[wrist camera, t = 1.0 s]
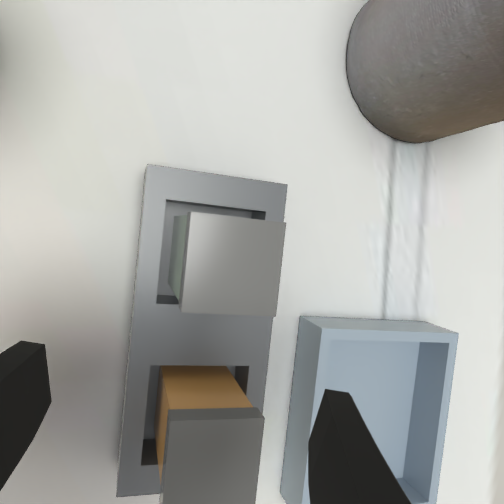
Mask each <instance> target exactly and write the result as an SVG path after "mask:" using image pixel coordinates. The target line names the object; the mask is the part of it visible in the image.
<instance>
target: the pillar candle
mask: <svg viewBox="0 0 504 504" xmlns="http://www.w3.org/2000/svg"><path fill="white" fill-rule="evenodd" d="M347 76H348V81H349V85H350V88H351V91H352V94H353V97H354V99H355V101H356V102H357V104H358V106H359V108H360V109H361V111H362V113H363V114H364V116H365V117H366V118H367V119H368V120H369V121H370V122H371V123H372V124H373V125H374V126H375V127H376V128H378V129H379V130H380V131H382V132H384V133H385V134H387V135H389V136H391V137H393V138H395V139H399V140H402V141H408V142H413V143H422V142H430V141H434V140H436V139H440V138H443V137H447V136H450V135H454V134H458V133H462V132H465V131H469V130H472V129H475V128H478V127H482V126H485V125H488V124H492V123H497V122H501V121H504V0H369V1H368V2H367V3H366V4H365V5H364V6H363V8H362V9H361V10H360V12H359V13H358V14H357V16H356V18H355V20H354V22H353V25H352V28H351V33H350V38H349V43H348V52H347Z"/></svg>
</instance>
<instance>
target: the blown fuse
mask: <svg viewBox="0 0 504 504" xmlns="http://www.w3.org/2000/svg"><path fill="white" fill-rule="evenodd" d="M264 419H265V418H264V416H263V415H262V413H261V412H260V410H259V409H258V408H257V407H253V406H252V404H251V403H250V401H249V400H248V398H247V397H246V395H245V394H244V392H243V391H242V389H241V388H240V386H239V385H238V383H237V382H236V380H235V379H234V377H233V375H232V374H231V372H230V371H229V369H228V368H227V366H189V365H160V368H159V378H158V388H157V399H156V409H155V419H154V432H155V441H156V450H157V458H158V467H159V476H160V484H161V487H160V498H159V502H160V504H255V501H256V491H257V482H258V473H259V464H260V455H261V446H262V437H263V428H264Z"/></svg>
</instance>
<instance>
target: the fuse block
mask: <svg viewBox="0 0 504 504" xmlns="http://www.w3.org/2000/svg"><path fill="white" fill-rule="evenodd" d="M286 194H287V184H280V183H274V182H267V181H260V180H253V179H246V178H239V177H233V176H226V175H219V174H212V173H205V172H198V171H191V170H185V169H178V168H171V167H164V166H157V165H150V164H147V167H146V170H145V177H144V188H143V199H142V210H141V220H140V231H139V242H138V253H137V263H136V274H135V285H134V296H133V307H132V317H131V328H130V339H129V350H128V360H127V371H126V382H125V393H124V403H123V414H122V425H121V436H120V446H119V457H118V473H117V494H116V497H126V496H138V495H150V494H160V487H161V484H160V476H159V467H158V458H157V450H156V441H155V432H154V419H155V409H156V399H157V388H158V378H159V368H160V365H189V366H227V368H228V369H229V371H230V372H231V374H232V375H233V377H234V379H235V380H236V382H237V383H238V385H239V386H240V388H241V389H242V391H243V392H244V394H245V395H246V397H247V398H248V400H249V401H250V403H251V404H252V406H253V407H257V408H258V409H259V410H260V412H261V413H262V412H263V403H264V394H265V385H266V376H267V367H268V358H269V349H270V340H271V331H272V322H273V316H251V315H228V314H205V313H183V312H181V311H180V309H179V307H178V305H179V300H178V299H177V297H176V295H175V294H174V292H173V290H172V289H171V287H170V285H169V284H168V275H169V264H170V254H171V244H172V234H173V223H174V216H181V215H187V213H188V212H199V213H207V214H216V215H224V216H233V217H241V218H250V219H259V220H267V221H276V222H283V221H284V212H285V203H286Z"/></svg>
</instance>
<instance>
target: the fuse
mask: <svg viewBox="0 0 504 504" xmlns="http://www.w3.org/2000/svg"><path fill="white" fill-rule="evenodd" d="M285 228H286V223H284V222H276V221H267V220H259V219H250V218H241V217H233V216H224V215H216V214H207V213H199V212H188V213H187V215H181V216H174V223H173V234H172V244H171V254H170V264H169V275H168V284H169V285H170V287H171V289H172V290H173V292H174V294H175V295H176V297H177V299H178V300H179V305H178V307H179V309H180V311H181V312H183V313H205V314H228V315H251V316H273V317H276V310H277V301H278V292H279V283H280V274H281V265H282V256H283V247H284V237H285Z"/></svg>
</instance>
